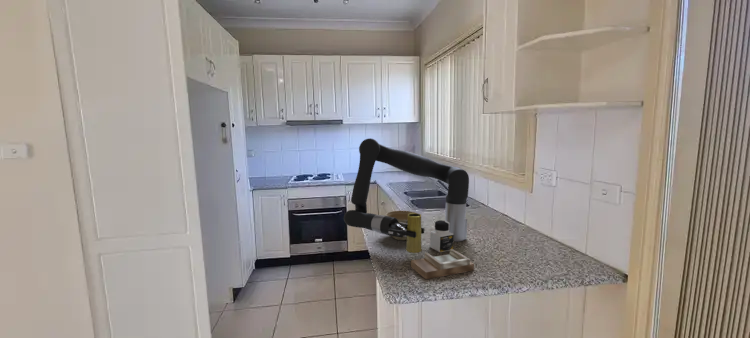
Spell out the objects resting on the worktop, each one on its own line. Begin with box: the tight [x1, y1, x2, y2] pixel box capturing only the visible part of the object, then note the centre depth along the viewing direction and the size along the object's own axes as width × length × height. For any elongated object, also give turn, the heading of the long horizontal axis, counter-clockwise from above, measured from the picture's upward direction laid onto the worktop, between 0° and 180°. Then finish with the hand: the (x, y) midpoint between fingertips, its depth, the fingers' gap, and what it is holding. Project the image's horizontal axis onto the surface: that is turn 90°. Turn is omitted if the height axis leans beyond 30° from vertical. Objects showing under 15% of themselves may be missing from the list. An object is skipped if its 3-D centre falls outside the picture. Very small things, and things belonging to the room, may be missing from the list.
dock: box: [410, 248, 475, 280], centre depth 123 cm, size 20×11×4 cm, turn 112°
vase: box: [405, 212, 423, 254], centre depth 131 cm, size 6×6×14 cm
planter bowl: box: [385, 210, 416, 241], centre depth 157 cm, size 16×16×11 cm
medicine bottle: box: [429, 219, 454, 253], centre depth 143 cm, size 7×7×12 cm
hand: (419, 232), depth 129 cm, fingers closed on vase, 5 cm apart
